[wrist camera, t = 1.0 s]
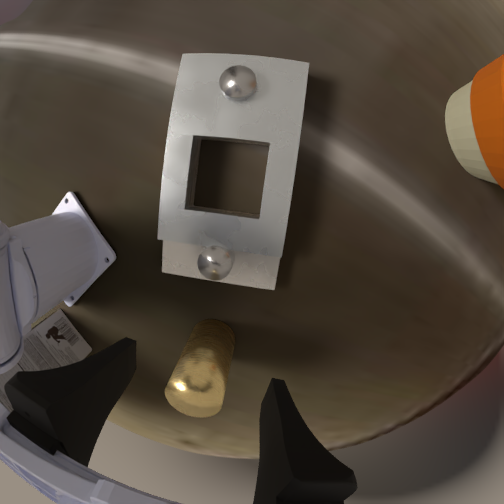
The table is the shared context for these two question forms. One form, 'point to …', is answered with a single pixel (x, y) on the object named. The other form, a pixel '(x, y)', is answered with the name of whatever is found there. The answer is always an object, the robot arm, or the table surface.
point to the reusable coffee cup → (479, 123)
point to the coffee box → (47, 349)
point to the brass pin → (202, 370)
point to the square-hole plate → (241, 131)
